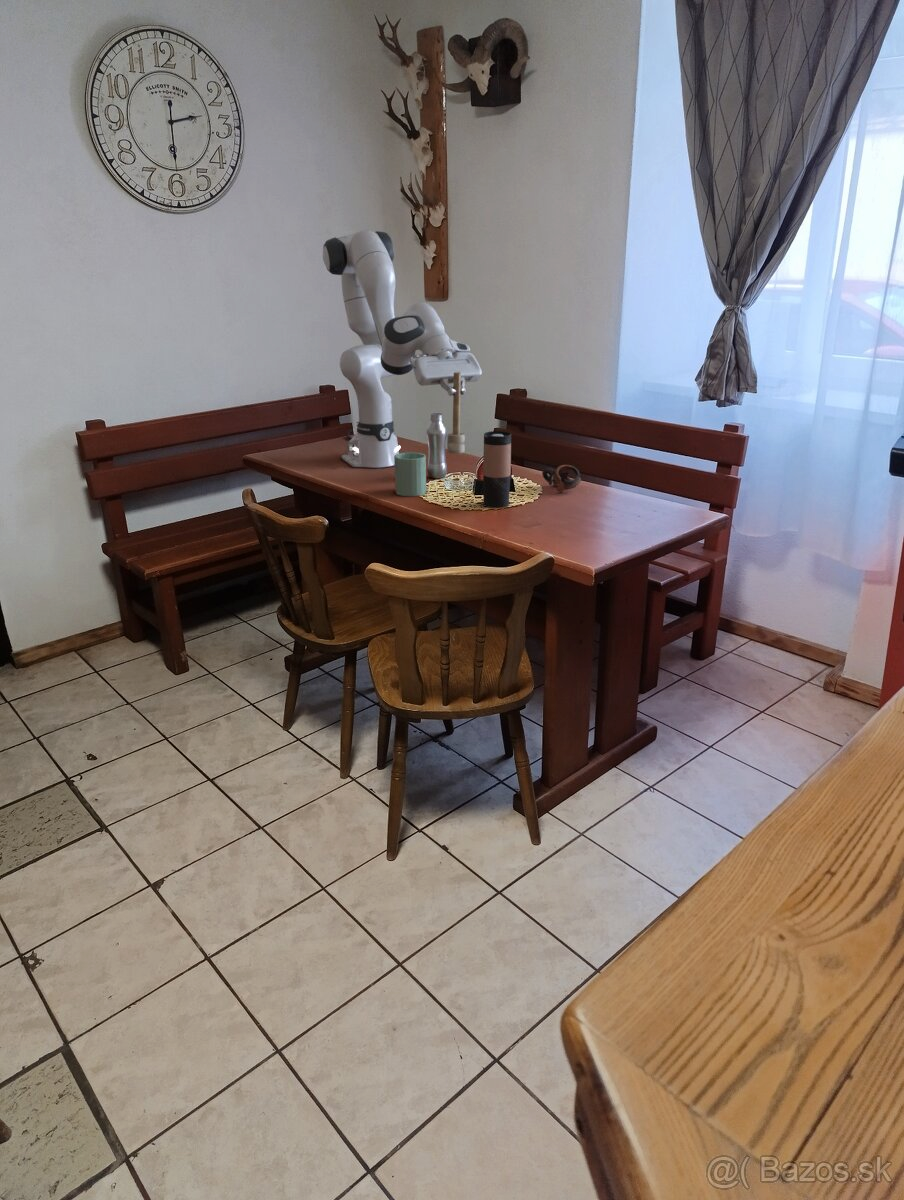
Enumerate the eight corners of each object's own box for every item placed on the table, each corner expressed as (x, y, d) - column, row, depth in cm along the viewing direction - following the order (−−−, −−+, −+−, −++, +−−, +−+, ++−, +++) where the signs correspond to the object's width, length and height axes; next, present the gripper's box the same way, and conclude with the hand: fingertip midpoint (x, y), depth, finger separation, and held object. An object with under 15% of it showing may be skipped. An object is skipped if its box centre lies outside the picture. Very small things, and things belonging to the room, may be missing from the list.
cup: (389, 491, 244) (388, 454, 239) (415, 486, 248) (415, 450, 244) (405, 498, 237) (404, 460, 232) (432, 493, 241) (431, 456, 237)
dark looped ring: (580, 487, 249) (586, 467, 242) (571, 507, 244) (577, 487, 237) (543, 474, 251) (548, 454, 244) (534, 494, 246) (538, 474, 239)
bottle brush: (443, 451, 233) (444, 372, 225) (457, 449, 236) (459, 371, 227) (453, 454, 229) (455, 374, 221) (468, 452, 232) (469, 373, 224)
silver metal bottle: (448, 475, 261) (447, 412, 254) (446, 480, 255) (445, 416, 247) (428, 474, 262) (427, 412, 254) (425, 480, 256) (424, 416, 248)
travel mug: (512, 501, 232) (514, 432, 225) (505, 509, 226) (507, 437, 218) (487, 499, 235) (488, 430, 227) (479, 506, 228) (480, 435, 220)
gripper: (411, 347, 222) (430, 389, 218) (473, 344, 232) (492, 384, 228) (403, 363, 227) (422, 403, 223) (464, 359, 237) (482, 398, 234)
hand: (458, 393), depth 226 cm, fingers closed on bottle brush
